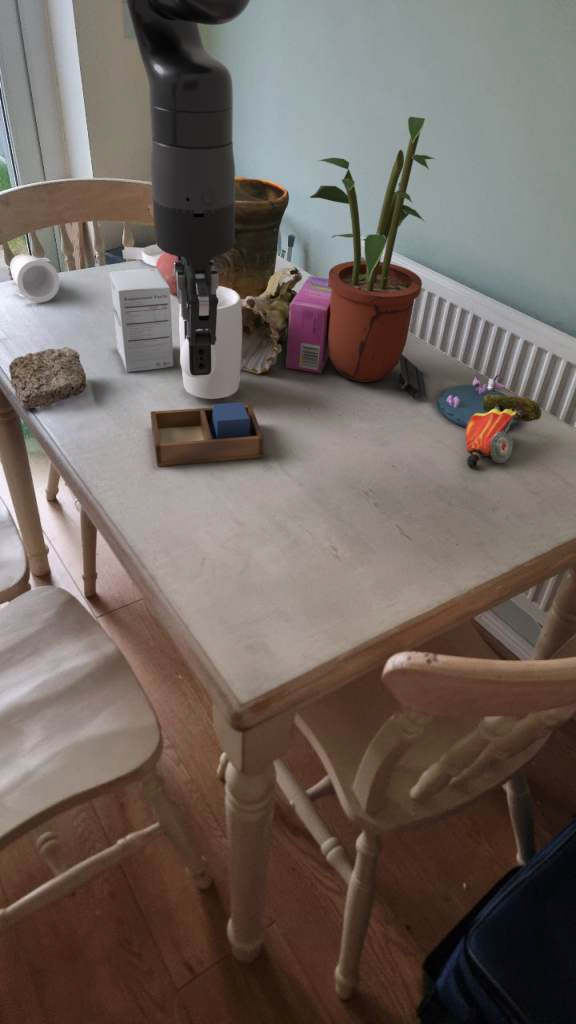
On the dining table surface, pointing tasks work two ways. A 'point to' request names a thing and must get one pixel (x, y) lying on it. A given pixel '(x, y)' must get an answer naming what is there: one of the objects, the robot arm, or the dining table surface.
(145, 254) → the two-handled dish
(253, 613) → the dining table surface
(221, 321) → the cup
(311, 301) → the box
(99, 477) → the dining table surface
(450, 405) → the blue flower bed
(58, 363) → the stone
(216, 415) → the block
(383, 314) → the potted plant
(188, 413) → the sorter
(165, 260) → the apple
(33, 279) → the downlight
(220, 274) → the vessel
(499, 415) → the figurine
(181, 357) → the egg
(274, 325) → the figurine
